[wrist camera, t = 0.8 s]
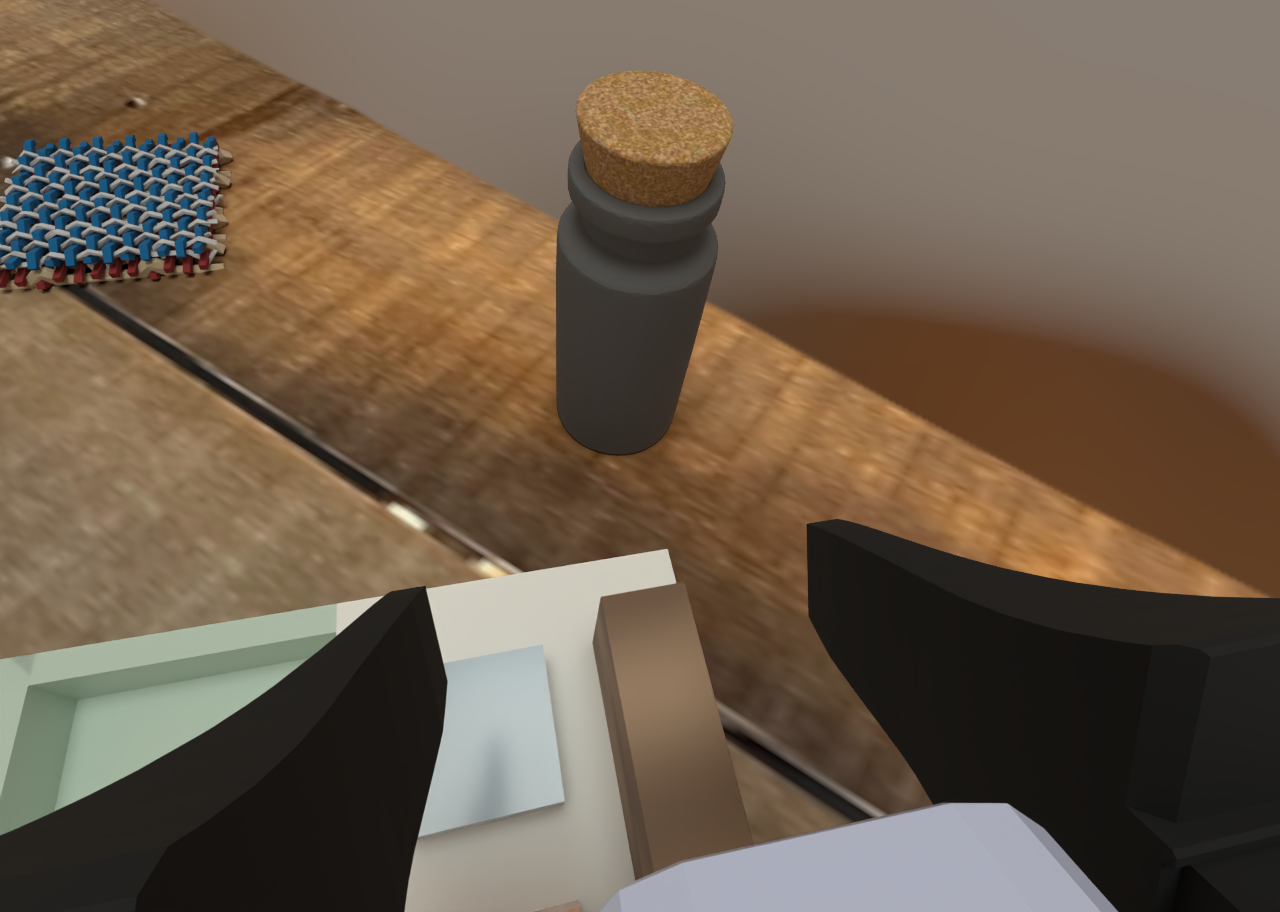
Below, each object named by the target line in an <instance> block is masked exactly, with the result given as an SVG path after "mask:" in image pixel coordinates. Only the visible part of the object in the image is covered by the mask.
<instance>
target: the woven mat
mask: <svg viewBox="0 0 1280 912" xmlns="http://www.w3.org/2000/svg"><path fill="white" fill-rule="evenodd" d="M198 139H199V136H198V134H197V132H193V133H190V134H189V140H190V144H189V145H188V146H185V145H186V141H185V140H184V139H183V138H177V142H175V143H173V144H169V145H168V144H167V140H168V137H167V135H166V134H159V135H158V146H156V145H154V144H155V143H154V142H153V140H152V139H148V140H145V143H144V144H142V145H139V149H136V145H135V141H136V139H135V136H134V135H127V136H126V138H125V141H126V147H124V146H123V144H122V143H121V142H120V141H113V145H111V146H108V147H105V148H106V150H103V139H102V136H99V137H94V138H93V139H92V142H93V148H92V149H90V145H89V144H88V143H87V142H81V143H80V147H77V148H73V149H70V144H71V142H70V140H69V138H61V139H60V140H59V148H60V149H57V147H56V146H55V145H54V144H47V146H46V148H44V149H41V150H38V151H37V152H38V154H36V151H35V146H36V143H35V141H34V139H30V140H25V142H24V150H23V152H22V153H21V154H20V156H19V157H18V159H17V160H18V161H17V160H14V159H12V161H11V163H13V164H15V165H18V167H17V168H16V169H15V170H14V171H13V172H12V173H15V172H18V171H20V172H21V174H19V175H16V176H13V177H11V179H12V180H11V179H8V178H6V179H5V182H6V183H9V184H11V186H10V187H9V188H8V189H7V190H5V194H6V195H7V196H6V197H2V196H1V197H0V201H2V202H6V203H7V204H5V205H4V206H3V207H2V208H1V209H0V228H3V230H1V231H0V290H13V289H28V288H35V287H37V289H47V288H50V287H52V284H54V285H57V286H60V285H67V284H81V285H83V283H89V282H101V281H112V280H123V279H134V278H147V277H149V276H150V279H151V280H152V279H160V278H161V274H162V275H165V276H169V275H176V274H193V273H201V272H207V271H213V270H218V269H224V264H223V263H222V264H210V263H211V261H212V260H213V258H214V256H215V255H222V254H224V250H225V245H223V244H221V243H218V242H219V241H226V240H227V235H212V230H213V229H220V228H222V227H223V226H225V225H226V224H227V222H228V221H227V220H226V218H225V217H224V215H223V208H221V207H216V206H215V205H217V204H218V203H219V202H220V201H224V195H223V194H218V195H216V192H219V189H220V188H227V187H228V186H229V184H230V179H229V178H227V176H231V173H232V172H231V171H218V170H219V169H220V168H218V165H222V164H225V163H228V162H231V160H232V158H233V157H232V156H231V154H230V152H228V151H225V150H221V149H220V150H219V145H218V143H217V142H216V139H215V138H214V137H208V141H206V142H204V143H203V146H204V147H203V146H200V145H199V142H198ZM83 153H84V154H83ZM205 154H206V155H205ZM49 155H50V156H49ZM204 155H205V156H204ZM12 173H11V174H12ZM185 182H186V183H185ZM39 189H41V190H39ZM13 191H14V192H13ZM200 191H202V192H200ZM11 192H12V193H11ZM10 193H11V194H10ZM166 208H167V209H166ZM97 241H98V242H97ZM22 247H24V248H22ZM193 258H197V259H198V260H199V265H193ZM179 259H183V265H179V266H178V265H175V262H176V260H179ZM123 264H128V269H127V270H122V265H123ZM86 267H89V268H90V269H91V270H92V272H91V273H85V271H86ZM74 268H75V272H74V274H71V275H70V274H67V271H68V269H74ZM10 274H16V276H15V279H14V280H10V281H8V280H9V277H10Z"/></svg>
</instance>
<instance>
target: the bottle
mask: <svg viewBox="0 0 1280 912" xmlns="http://www.w3.org/2000/svg"><path fill="white" fill-rule="evenodd" d="M576 117H577V122H578V127H579V133H580V139H581V140H580V141H579V142H578V143H577V144H576V146H575V147H574V149H573V151H572V152H571V155H570V158H569V164H568V190H569V193H570V197H571V200H572V202H571V203H570V205H569V206H568V207H567V208H566V209H565V211H564V212H563V214H562V216H561V218H560V221H559V225H558V231H557V257H556V382H557V409H558V413H559V417H560V419H561V422H562V424H563V426H564V427H565V429H566V430H567V432H568V433H569V434H570V435H571V436H572V437H573V438H574V439H575V440H577V441H578V442H579V443H581V444H582V445H584V446H586V447H588V448H590V449H592V450H595V451H598V452H602V453H605V454H614V455H620V454H631V453H636V452H639V451H641V450H644V449H646V448H648V447H650V446H652V445H653V444H655V443H656V442H658V441H659V440H660V439H661V438H662V437H663V435H664V434H665V433H666V431H667V430H668V428H669V427H670V424H671V422H672V419H673V416H674V413H675V410H676V406H677V403H678V399H679V396H680V392H681V388H682V385H683V381H684V378H685V374H686V371H687V367H688V364H689V360H690V357H691V353H692V350H693V346H694V342H695V339H696V335H697V331H698V328H699V324H700V320H701V317H702V313H703V309H704V306H705V302H706V298H707V294H708V291H709V287H710V283H711V280H712V275H713V272H714V268H715V264H716V259H717V251H718V242H717V236H716V233H715V230H714V228H713V226H712V224H711V222H712V221H713V220H714V219H715V217H716V216H717V213H718V211H719V208H720V205H721V202H722V198H723V194H724V188H725V175H724V171H723V168H722V166H721V164H720V160H721V158H722V156H723V154H724V152H725V150H726V148H727V146H728V144H729V142H730V140H731V136H732V133H733V123H732V119H731V115H730V113H729V112H728V110H727V108H726V106H725V105H724V104H723V103H722V102H721V101H720V100H719V98H718V97H717V96H715V95H714V94H712V93H711V92H710V91H709V90H707V89H706V88H704V87H702V86H700V85H698V84H696V83H694V82H692V81H690V80H687V79H684V78H682V77H679V76H676V75H672V74H667V73H662V72H654V71H625V72H619V73H614V74H610V75H607V76H604V77H602V78H599V79H598V80H596V81H594V82H592V83H591V84H589V86H587V87H586V88H585V89H584V90H583V92H582V93H581V95H580V96H579V98H578V101H577V105H576Z"/></svg>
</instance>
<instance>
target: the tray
mask: <svg viewBox="0 0 1280 912" xmlns="http://www.w3.org/2000/svg"><path fill="white" fill-rule="evenodd" d="M336 622H337V604H332V605H326V606H320V607H314V608H308V609H302V610H296V611H290V612H284V613H278V614H272V615H266V616H260V617H254V618H248V619H242V620H236V621H229V622H223V623H217V624H211V625H205V626H199V627H193V628H187V629H181V630H175V631H169V632H163V633H157V634H151V635H145V636H139V637H133V638H127V639H121V640H115V641H109V642H103V643H97V644H91V645H85V646H79V647H72V648H66V649H60V650H54V651H48V652H42V653H36V654H30V655H24V656H18V657H12V658H6V659H0V835H2V834H5V833H7V832H10V831H12V830H14V829H17V828H19V827H21V826H23V825H26V824H28V823H30V822H32V821H34V820H37V819H39V818H41V817H43V816H46V815H48V814H50V813H52V812H54V811H56V810H58V809H60V808H63V807H65V806H67V805H69V804H71V803H73V802H75V801H77V800H79V799H81V798H84V797H86V796H88V795H90V794H92V793H94V792H96V791H98V790H100V789H102V788H104V787H106V786H108V785H110V784H112V783H114V782H116V781H118V780H120V779H122V778H124V777H126V776H127V775H129V774H131V773H133V772H135V771H137V770H139V769H141V768H142V767H144V766H146V765H148V764H149V763H151V762H153V761H155V760H156V759H158V758H160V757H162V756H163V755H165V754H167V753H169V752H171V751H172V750H174V749H176V748H178V747H179V746H181V745H183V744H185V743H186V742H188V741H190V740H192V739H193V738H195V737H197V736H199V735H200V734H202V733H204V732H205V731H207V730H209V729H210V728H212V727H214V726H215V725H217V724H218V723H220V722H221V721H223V720H224V719H226V718H227V717H229V716H230V715H232V714H234V713H235V712H237V711H238V710H240V709H241V708H243V707H244V706H246V705H247V704H249V703H250V702H252V701H253V700H254V699H256V698H257V697H259V696H260V695H262V694H263V693H264V692H266V691H267V690H269V689H270V688H271V687H273V686H274V685H275V684H277V683H278V682H279V681H281V680H282V679H283V678H284V677H286V676H287V675H288V674H290V673H291V672H292V671H293V670H295V669H296V668H297V667H299V666H300V665H301V664H302V663H304V662H305V661H306V660H307V659H309V658H310V657H311V656H313V655H314V654H315V653H316V652H318V651H319V650H320V649H321V648H323V647H324V646H325V645H326V644H327V643H329V642H330V641H331V640H332V639H333V638H334V637H336Z"/></svg>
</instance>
